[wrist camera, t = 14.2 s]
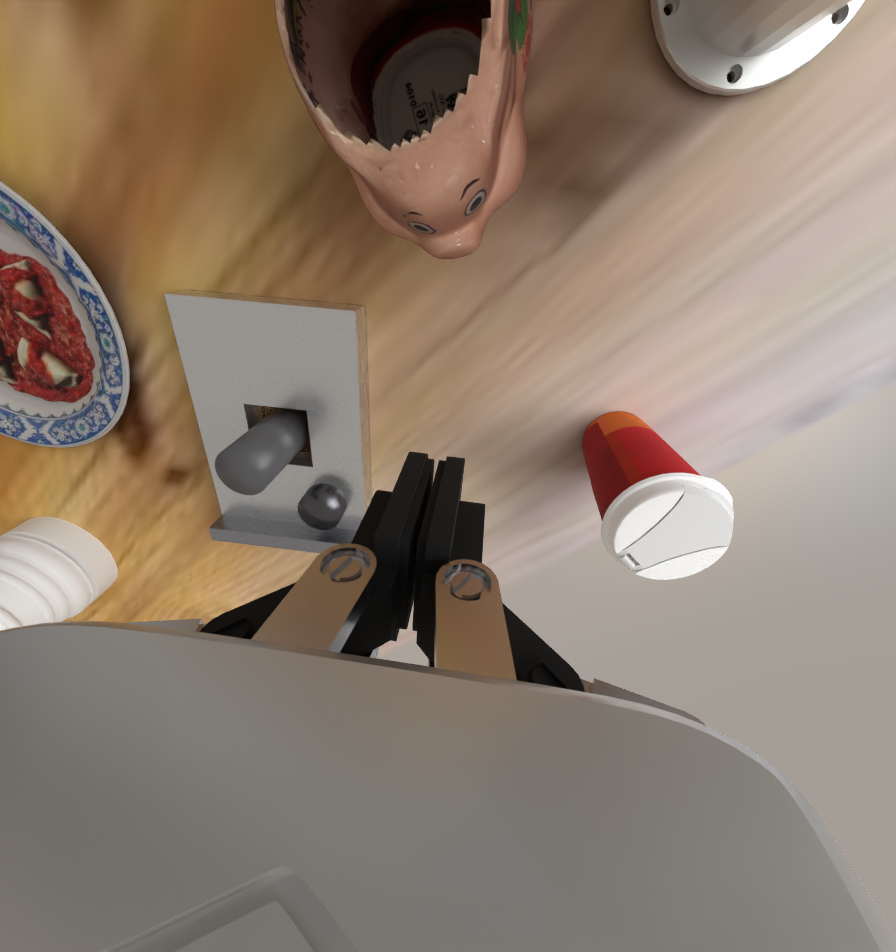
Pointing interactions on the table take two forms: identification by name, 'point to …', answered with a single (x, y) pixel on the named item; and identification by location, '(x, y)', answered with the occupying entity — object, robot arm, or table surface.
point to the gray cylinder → (263, 451)
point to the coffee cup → (654, 501)
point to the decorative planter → (418, 106)
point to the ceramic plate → (54, 336)
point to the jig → (284, 386)
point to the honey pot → (50, 572)
